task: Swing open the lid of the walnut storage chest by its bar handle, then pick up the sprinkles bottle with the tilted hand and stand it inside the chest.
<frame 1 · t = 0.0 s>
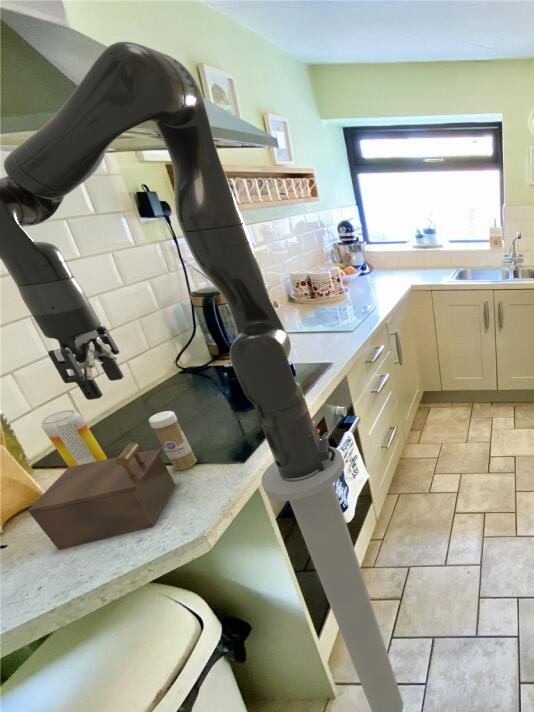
hand: (106, 388, 80), 24 cm above the worktop, tool pointing down, fingers open, 8 cm apart
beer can: (94, 472, 96), on the worktop
sprinkles bottle: (186, 465, 97), on the worktop
chest: (122, 515, 83), on the worktop
chest lid: (95, 468, 78), point 11 cm above the worktop, hinge at 0.0°
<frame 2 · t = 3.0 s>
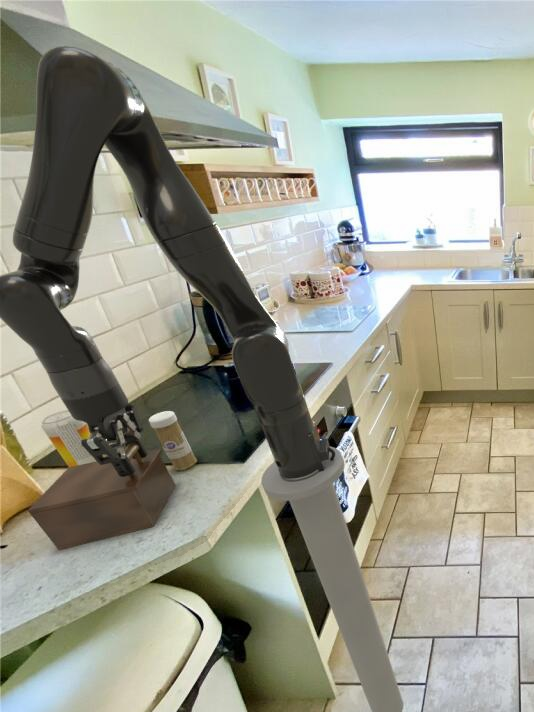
hand: (134, 465, 80), 10 cm above the worktop, tool pointing down, fingers closed on chest lid, 5 cm apart
chest lid: (95, 468, 78), point 11 cm above the worktop, hinge at 0.0°, touching gripper
everything else where it was.
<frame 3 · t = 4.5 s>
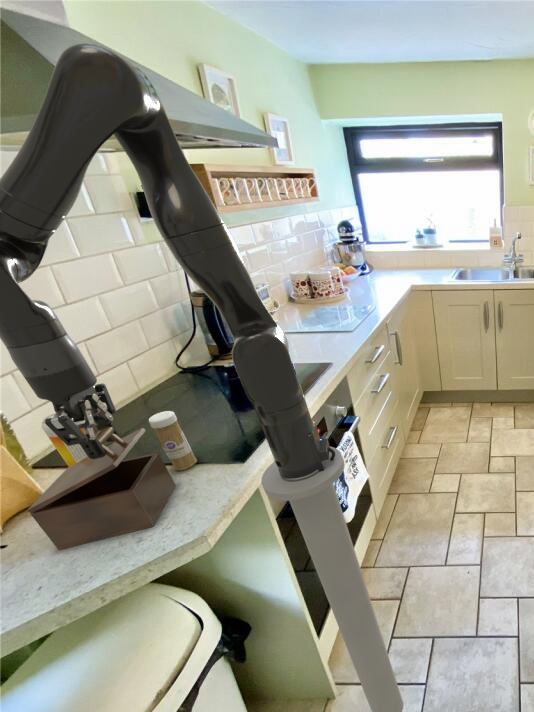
hand: (106, 447, 77), 15 cm above the worktop, tool pointing down, fingers closed on chest lid, 5 cm apart
chest lid: (80, 459, 76), point 14 cm above the worktop, hinge at 20.7°, touching gripper
everything else where it was.
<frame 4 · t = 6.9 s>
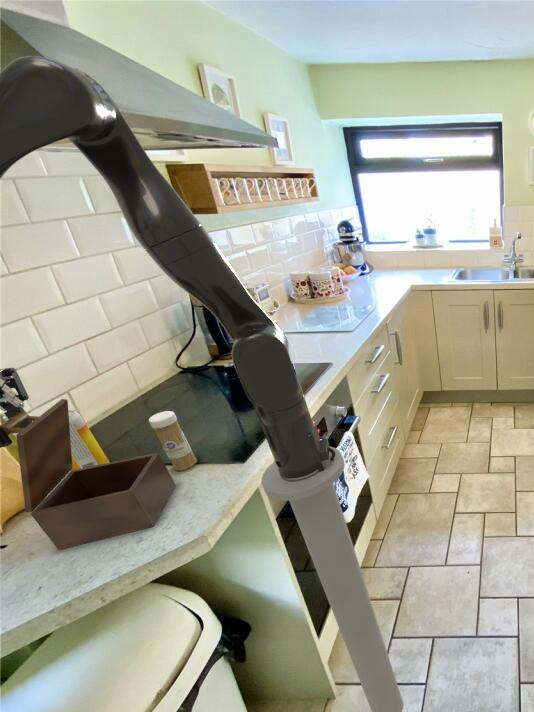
hand: (15, 436, 71), 21 cm above the worktop, tool pointing down, fingers closed on chest lid, 5 cm apart
chest lid: (30, 452, 73), point 17 cm above the worktop, hinge at 69.1°, touching gripper
everything else where it was.
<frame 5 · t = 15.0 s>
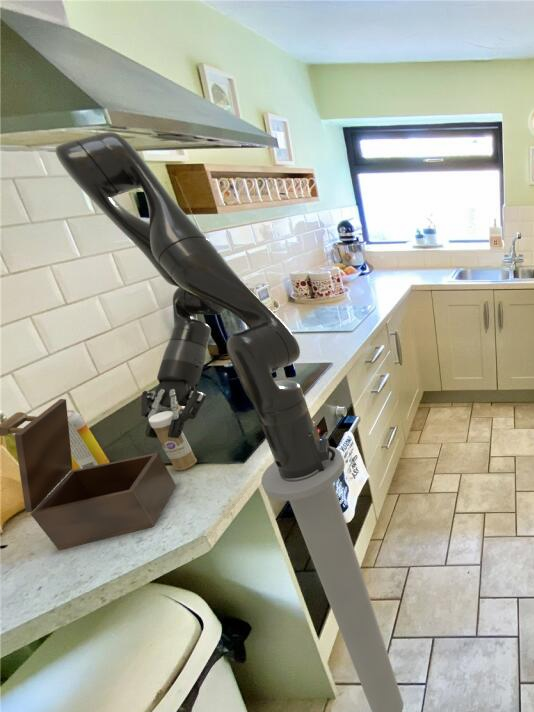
hand: (162, 437, 91), 9 cm above the worktop, tool tilted 45°, fingers closed on sprinkles bottle, 4 cm apart
sprinkles bottle: (186, 465, 97), on the worktop, touching gripper
chest lid: (29, 452, 73), point 17 cm above the worktop, hinge at 69.8°
everything else where it was.
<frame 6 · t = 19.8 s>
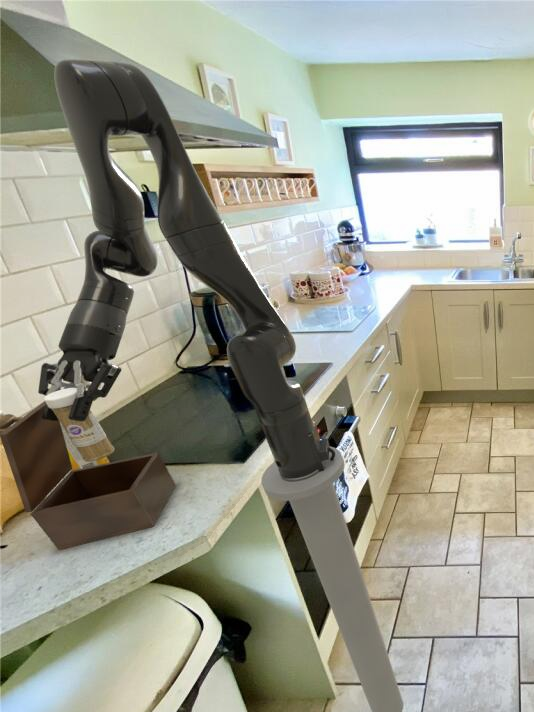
hand: (63, 419, 73), 22 cm above the worktop, tool tilted 45°, fingers closed on sprinkles bottle, 4 cm apart
sprinkles bottle: (101, 455, 79), point 13 cm above the worktop, touching gripper
chest lid: (23, 454, 73), point 17 cm above the worktop, hinge at 76.1°
everything else where it was.
when the fingers open (10 cm above the worktop, at t = 23.6 s): sprinkles bottle stays where it is, resting on chest.
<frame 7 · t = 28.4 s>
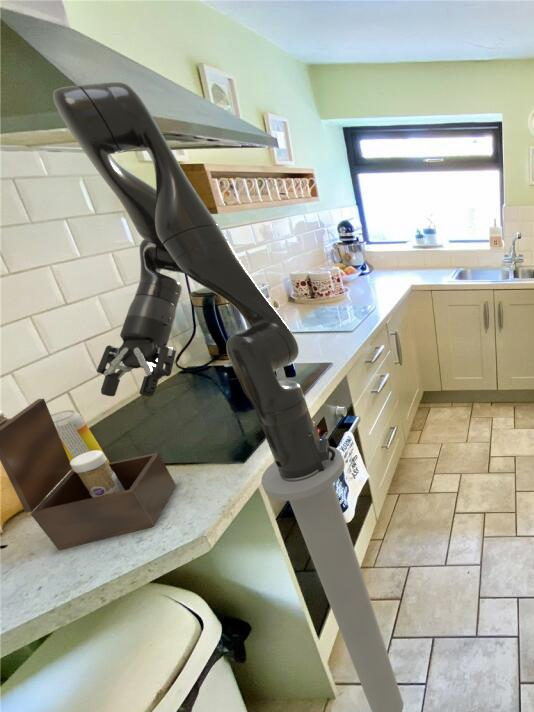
hand: (126, 395, 83), 21 cm above the worktop, tool tilted 45°, fingers open, 8 cm apart
sprinkles bottle: (121, 512, 83), point 1 cm above the worktop, touching chest
chest lid: (18, 455, 72), point 17 cm above the worktop, hinge at 81.0°
everything else where it was.
at the end: chest lid at +81° (first picture: +0°); sprinkles bottle inside the target area in the chest (0.2 cm from its centre), point 0.6 cm above the chest's base; sprinkles bottle tilted 0° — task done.
